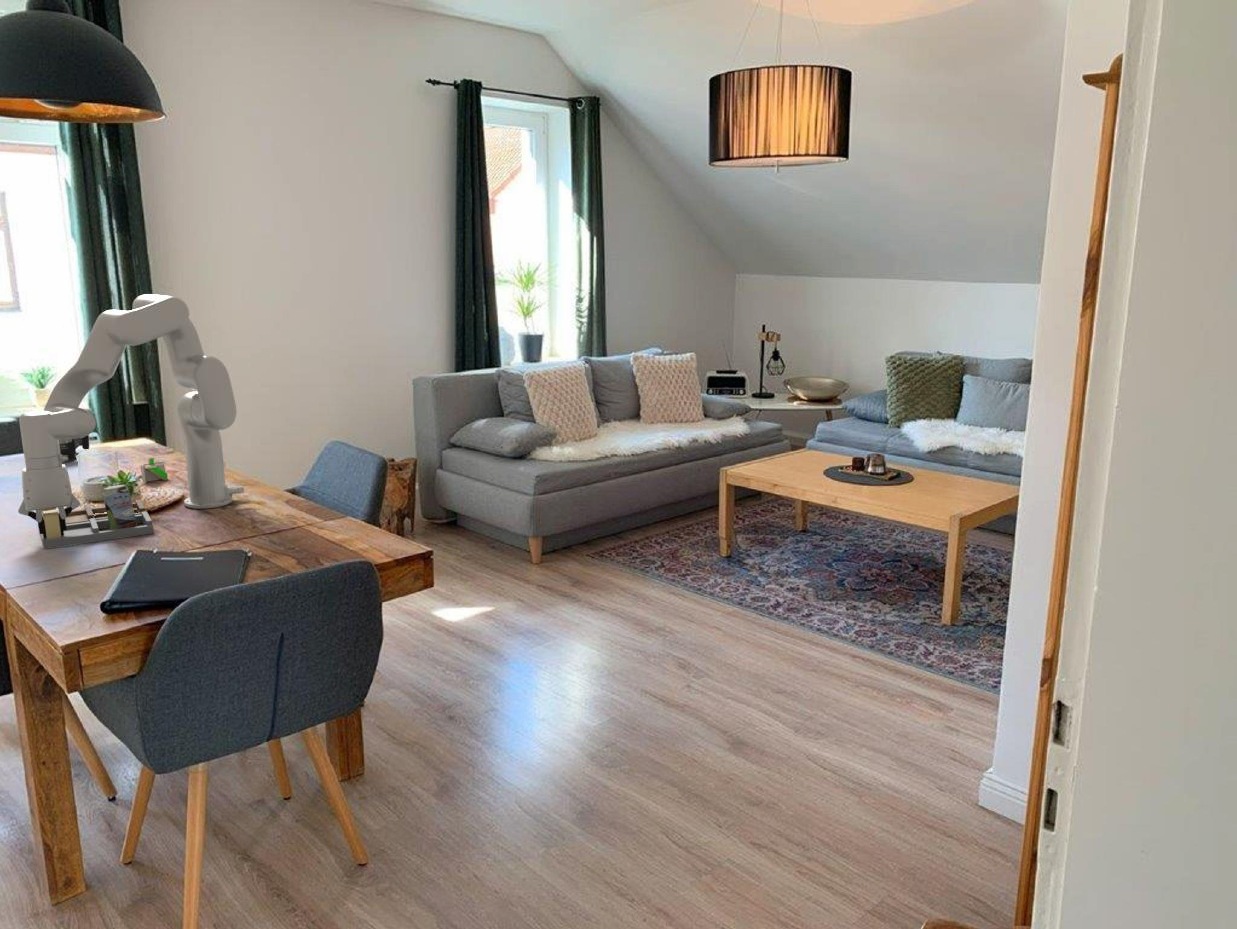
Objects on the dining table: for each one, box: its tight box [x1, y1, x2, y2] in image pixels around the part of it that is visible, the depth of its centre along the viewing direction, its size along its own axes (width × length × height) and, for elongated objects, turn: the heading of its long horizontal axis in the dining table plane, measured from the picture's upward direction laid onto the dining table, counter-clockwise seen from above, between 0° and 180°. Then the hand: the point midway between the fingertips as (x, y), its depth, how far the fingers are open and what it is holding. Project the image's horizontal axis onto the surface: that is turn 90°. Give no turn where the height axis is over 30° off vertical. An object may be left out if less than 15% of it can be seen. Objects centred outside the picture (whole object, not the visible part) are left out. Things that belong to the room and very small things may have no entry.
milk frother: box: [59, 434, 90, 463], centre depth 315 cm, size 14×16×15 cm
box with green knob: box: [140, 457, 168, 484], centre depth 288 cm, size 4×7×8 cm, turn 136°
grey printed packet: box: [101, 484, 138, 530], centre depth 240 cm, size 6×7×12 cm
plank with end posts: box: [42, 498, 146, 524], centre depth 248 cm, size 24×12×7 cm, turn 123°
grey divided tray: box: [40, 508, 155, 550], centre depth 238 cm, size 24×12×7 cm, turn 123°
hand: (53, 534), depth 233 cm, fingers closed on grey divided tray, 3 cm apart
